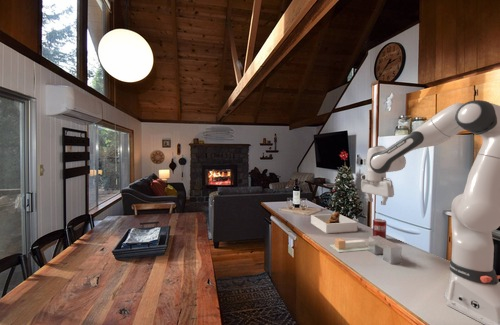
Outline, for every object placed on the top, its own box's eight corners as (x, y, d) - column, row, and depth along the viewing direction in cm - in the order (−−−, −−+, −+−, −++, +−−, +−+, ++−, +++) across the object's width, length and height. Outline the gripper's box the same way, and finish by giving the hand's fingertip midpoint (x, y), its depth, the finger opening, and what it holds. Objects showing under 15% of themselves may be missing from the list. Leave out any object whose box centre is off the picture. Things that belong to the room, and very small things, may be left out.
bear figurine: (321, 225, 182) (322, 208, 182) (343, 227, 178) (344, 210, 177) (321, 230, 169) (321, 213, 169) (344, 233, 165) (345, 214, 164)
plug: (366, 247, 139) (366, 239, 139) (338, 249, 136) (338, 241, 136) (361, 244, 143) (361, 236, 143) (334, 246, 140) (334, 238, 140)
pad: (372, 249, 137) (372, 248, 137) (339, 252, 133) (339, 251, 133) (360, 242, 147) (360, 242, 147) (329, 245, 143) (329, 244, 143)
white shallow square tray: (357, 231, 168) (357, 222, 168) (326, 233, 163) (326, 224, 163) (338, 221, 190) (338, 213, 190) (310, 223, 186) (311, 215, 186)
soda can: (387, 241, 148) (388, 222, 148) (374, 241, 150) (375, 221, 149) (383, 237, 155) (384, 218, 155) (371, 236, 157) (371, 218, 156)
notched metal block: (401, 262, 121) (401, 246, 120) (390, 263, 120) (391, 247, 119) (378, 249, 136) (378, 235, 136) (368, 250, 135) (368, 236, 135)
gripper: (397, 178, 121) (397, 206, 121) (368, 175, 141) (369, 199, 141) (386, 179, 119) (386, 207, 120) (358, 175, 139) (359, 200, 140)
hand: (376, 203), depth 131 cm, fingers open, 8 cm apart
